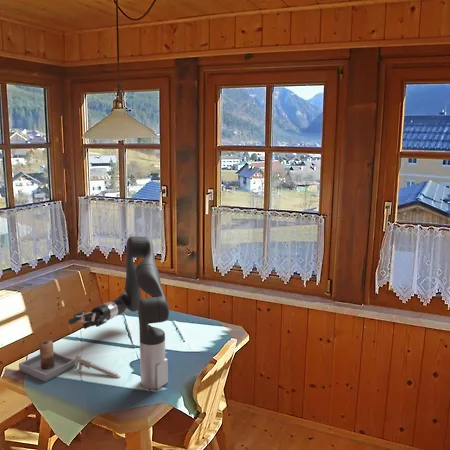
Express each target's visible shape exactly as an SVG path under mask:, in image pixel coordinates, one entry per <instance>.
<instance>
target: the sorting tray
mask: <svg viewBox="0 0 450 450" xmlns="http://www.w3.org/2000/svg"><path fill="white" fill-rule="evenodd" d="M74 368H75V358H73V357H72V358H71V357H70V356H66V355H64V354H61V353H58V352H55V351H54V367H53V368H51V369H42V368H41V361H40V353H39V354H37V355H35V356H33V357H30V358H28V359H26V360H24V361H22V362H20V363H18V371H19V372H21V373H24V374H25V373H26V375H28V376H30V375H31V376H30V377H33V378H35V379H37V378H38V379H37V380H41V381H43V382H45V383H49V382H50V381H51V380H53V379H55V378H57V377H60V376H61V375H63V374H65V373H66V372H69V371H70V370H72V369H74Z"/></svg>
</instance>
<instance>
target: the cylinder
mask: <svg viewBox="0 0 450 450" xmlns="http://www.w3.org/2000/svg"><path fill="white" fill-rule="evenodd" d="M38 345H39V354H40V361H41V368H42V369H51V368H53V367H54V352H55V351H54V341H53V340H51V339H45V340H42V341H40V342H39V344H38Z"/></svg>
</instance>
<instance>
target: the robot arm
mask: <svg viewBox="0 0 450 450" xmlns="http://www.w3.org/2000/svg"><path fill="white" fill-rule="evenodd" d="M134 258H137V259H138V258H139V259H142V260H140V262H139V263H138V264H137V265H136V264H135V261H134ZM125 272H126V273H125V275H126V276H125V282H124V283H125V284H124V291H123V292H122V293H121V294H120V295H119V296H118V297H117V298H116V299H114V300H111V301H109V302H108V301H107V302H104V303H102V304H99V305H97V306H94V307H93V308H92V309H91V311H89V312H86V311H85V310H82V311H80V312H77V313H75V314H73V315H72V316H73V317H72V318H70V319H68V324H69V325H73V324H75V323H80V322H81V323H82V324H83V325H82V326H83V329H84V330H85V329H88V328H90V327H100V326H102V325H104V324H107V322H108V321H110V320H112V319H114V318H115V317H118V316H120V315H122V314H123V313H125V311H126V310H129V312H131V313H132V312H133V313H134V312H137V315H138V325H139V326H138V327H139V360H140V361H139V362H140V364H139V365H140V367H139V368H140V384H141V386H142V387H143V388H144V389H145V388H146V389H150V390H151V389H153V390H154V389H155V390H160V389H161V388H162V387H164V386H165V385H167V383H168V382H169V371H168V370H169V367H168V365H169V363H168V362H169V360H168V358H166V333H165V331H164V330H163V329H162V328H159V327H155V326H153V325H150V324H157V323H159V324H160V323H164V322H166V321H168V319H169V317H170V307H169V303H168V300H167V297H166V295H165V293H164V290H163V286H162V282H161V281H162V280H161V276H160V274H159V272H160V271H159V269H158V266H157V263H156V259H155V253H154V246H153V240H152V239H151V238H150V237H148V236H129V237H128V238H127V241H126V246H125ZM141 290H142V291H143V292H144V293H146V294H147V295H149V296H150V297H144V298H142V294H141V293H142V292H141Z"/></svg>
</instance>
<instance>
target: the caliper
mask: <svg viewBox="0 0 450 450" xmlns="http://www.w3.org/2000/svg"><path fill="white" fill-rule="evenodd" d="M74 359H75V367H74V368H75V369H78V370H81V369H82V368H83V367H85V368H87V369H90V368H91V369H93V370H96V371H98V372H100V373H103V374H105V375H107V376H110V377H113V378H117V379H119V378H121V375H119V374H118V373H116V372H115V371H112V370H110V369H108V368H105V367H103V366H100V365H98V364H95V363H93V362H92V361H90V360H89V359H86V358H84V357H82V355H80V354H79V353H78V354H77V355H76V356H75V357H74ZM77 367H78V368H77Z"/></svg>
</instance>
